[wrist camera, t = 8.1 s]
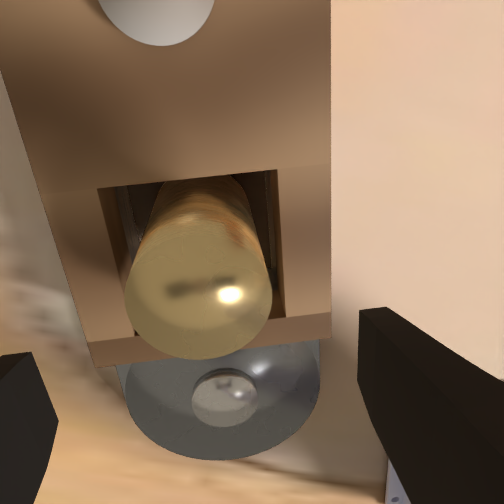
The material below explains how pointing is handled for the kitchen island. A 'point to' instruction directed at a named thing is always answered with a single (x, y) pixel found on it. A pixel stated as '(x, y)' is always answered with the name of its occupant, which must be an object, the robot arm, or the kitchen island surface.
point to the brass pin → (199, 271)
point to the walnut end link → (174, 136)
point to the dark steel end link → (221, 385)
